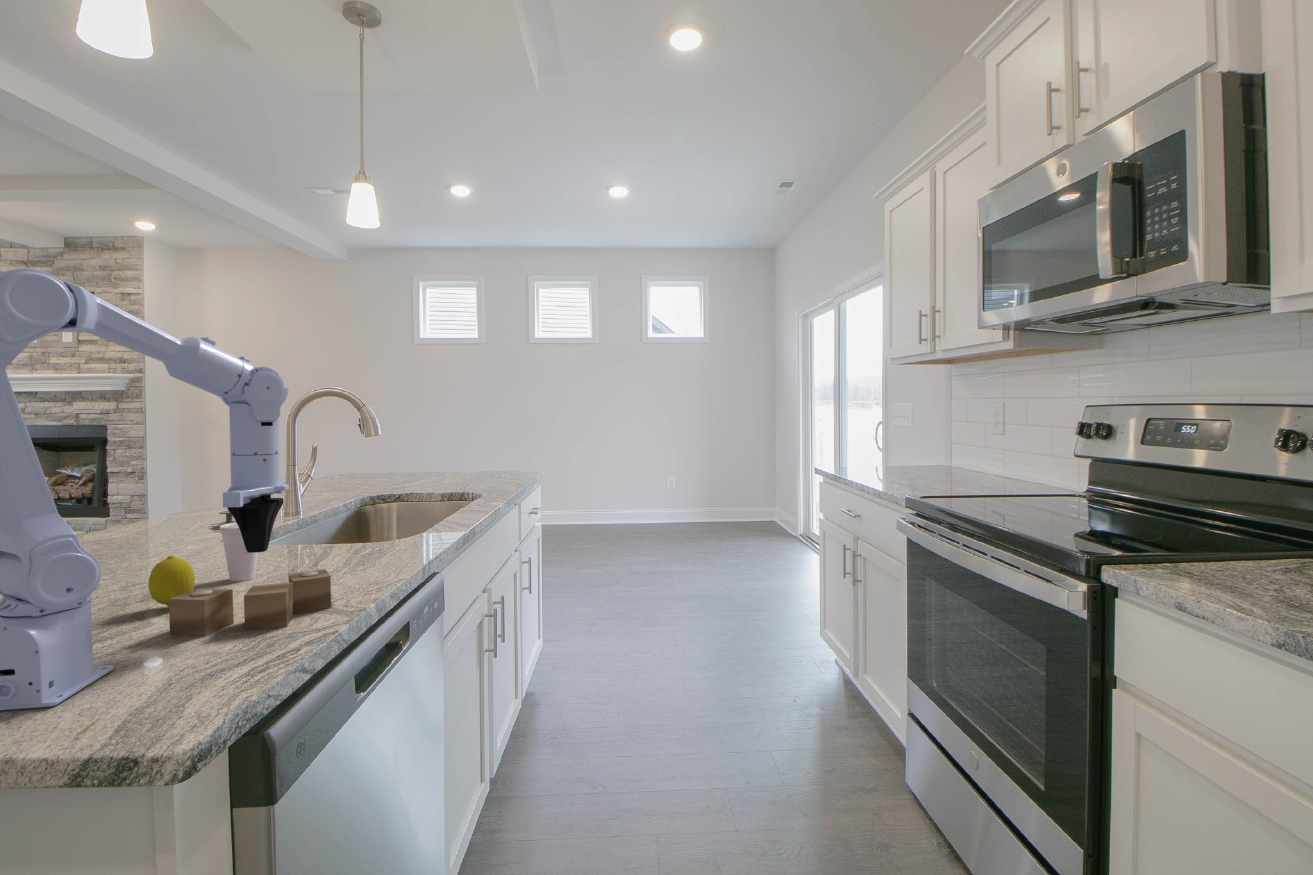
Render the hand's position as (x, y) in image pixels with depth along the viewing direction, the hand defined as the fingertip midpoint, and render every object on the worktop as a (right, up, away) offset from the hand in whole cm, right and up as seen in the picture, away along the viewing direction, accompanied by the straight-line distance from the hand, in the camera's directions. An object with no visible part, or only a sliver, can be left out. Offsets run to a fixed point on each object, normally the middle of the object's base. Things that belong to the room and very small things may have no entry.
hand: (257, 551), depth 87 cm
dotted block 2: (+3, -10, +9) cm, 13 cm away
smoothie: (-18, -9, +24) cm, 31 cm away
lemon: (-18, -10, +8) cm, 22 cm away
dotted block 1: (-6, -11, -1) cm, 12 cm away
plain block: (+1, -10, +1) cm, 10 cm away
